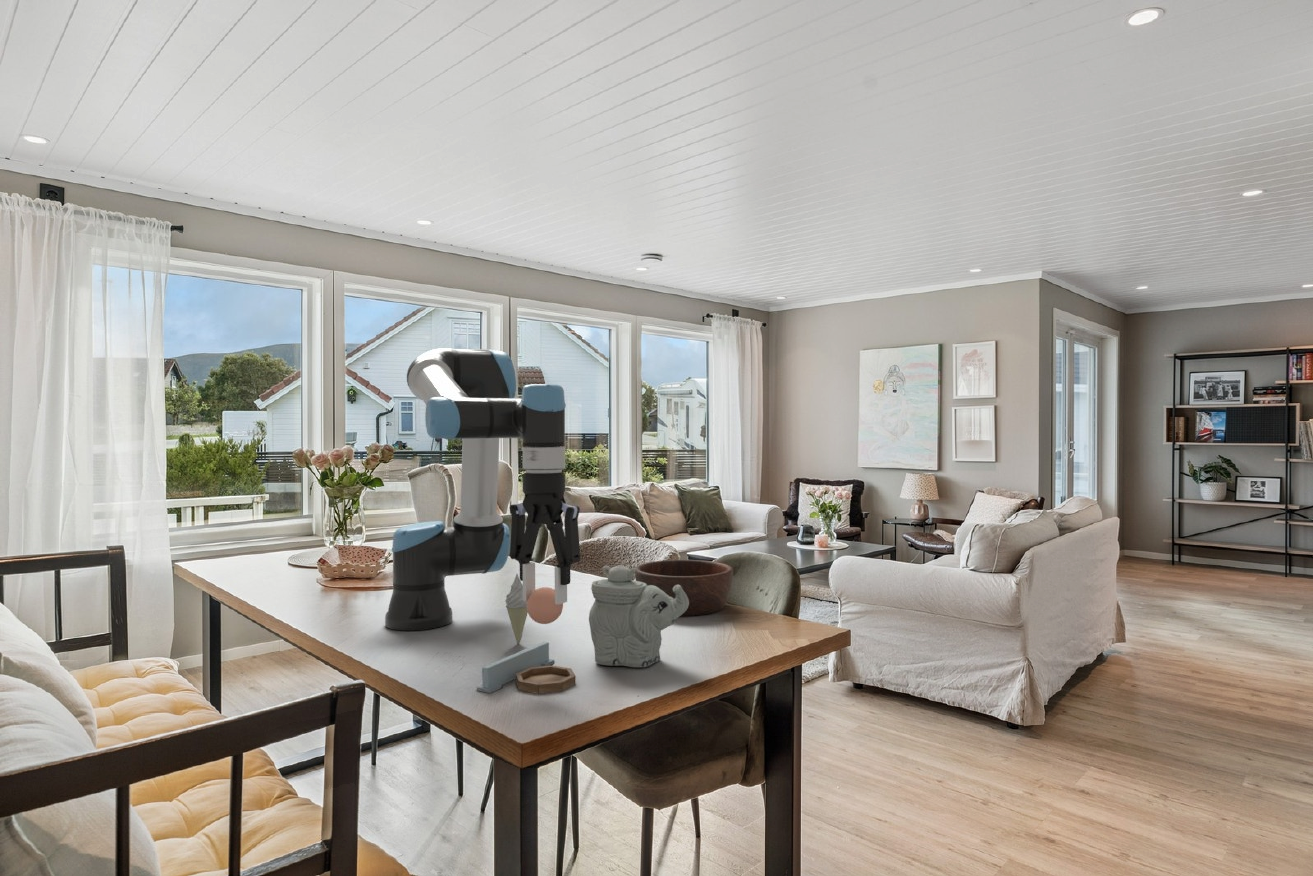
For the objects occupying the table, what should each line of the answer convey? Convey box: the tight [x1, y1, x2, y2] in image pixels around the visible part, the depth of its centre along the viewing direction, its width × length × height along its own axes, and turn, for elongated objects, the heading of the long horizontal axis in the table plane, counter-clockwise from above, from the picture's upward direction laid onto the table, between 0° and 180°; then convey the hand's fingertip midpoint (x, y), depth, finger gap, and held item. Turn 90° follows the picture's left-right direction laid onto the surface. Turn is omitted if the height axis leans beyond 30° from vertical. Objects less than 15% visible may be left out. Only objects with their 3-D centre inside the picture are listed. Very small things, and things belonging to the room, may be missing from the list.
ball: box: [527, 586, 564, 625], centre depth 135 cm, size 6×6×6 cm
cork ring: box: [515, 665, 577, 694], centre depth 135 cm, size 10×10×2 cm
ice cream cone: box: [505, 573, 528, 645], centre depth 160 cm, size 5×5×15 cm
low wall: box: [476, 641, 555, 694], centre depth 139 cm, size 3×19×4 cm, turn 153°
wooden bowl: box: [634, 559, 734, 617], centre depth 193 cm, size 25×25×10 cm
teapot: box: [588, 564, 689, 668], centre depth 147 cm, size 16×15×19 cm
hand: (544, 601), depth 135 cm, fingers closed on ball, 6 cm apart
